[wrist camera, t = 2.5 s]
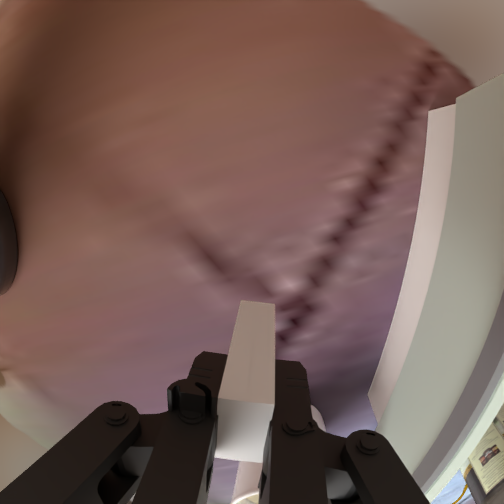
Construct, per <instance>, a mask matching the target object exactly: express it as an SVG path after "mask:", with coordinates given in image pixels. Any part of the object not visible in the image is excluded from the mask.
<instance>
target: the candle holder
mask: <svg viewBox="0 0 504 504" xmlns="http://www.w3.org/2000/svg"><path fill="white" fill-rule="evenodd" d="M311 411H312V417H313V419H314V420H315V421H316V422H317V424H318V426H319V428H320V429H322V430H323V431H325V432H326V428H325V424H324V421H323V418H322V415H321V414H320V412H319V411H318V410H317V409H316V408H315V407H314V406H313V405H311ZM262 466H263V461H262V463H256V462H246V461H239V465H238V471H237V476H236V481H235V486H234V491H233V496H232V500H231V504H258V501H259V488H258V483H259V479H260V475H261V471H262Z"/></svg>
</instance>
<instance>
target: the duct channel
mask: <svg viewBox="0 0 504 504" xmlns="http://www.w3.org/2000/svg"><path fill="white" fill-rule="evenodd" d="M455 114H456V104H453V105H449V106H445V107H442V108H438V109H434V110H431V111H428V126H427V139H426V150H425V159H424V168H423V176H422V184H421V191H420V198H419V204H418V210H417V216H416V222H415V227H414V232H413V238H412V243H411V248H410V252H409V257H408V261H407V266H406V270H405V274H404V279H403V283H402V287H401V291H400V294H399V298H398V302H397V306H396V309H395V313H394V316H393V320H392V323H391V327H390V330H389V333H388V336H387V340H386V343H385V346H384V349H383V352H382V355H381V358H380V361H379V364H378V367H377V370H376V372H375V375H374V378H373V381H372V383H371V386H370V389H369V391H368V394H367V395H368V398H369V401H370V403H371V406H372V409H373V412H374V414H375V417H376V420H377V423H379V421H380V419H381V417H382V415H383V413H384V410H385V408H386V406H387V404H388V401H389V399H390V397H391V394H392V392H393V390H394V387H395V385H396V382H397V380H398V377H399V375H400V372H401V370H402V367H403V364H404V362H405V359H406V356H407V354H408V351H409V348H410V345H411V342H412V339H413V336H414V333H415V330H416V327H417V324H418V321H419V318H420V315H421V311H422V308H423V305H424V301H425V298H426V294H427V291H428V287H429V283H430V279H431V275H432V272H433V267H434V263H435V259H436V255H437V250H438V246H439V241H440V236H441V231H442V226H443V220H444V215H445V209H446V203H447V197H448V190H449V182H450V175H451V166H452V157H453V146H454V132H455Z"/></svg>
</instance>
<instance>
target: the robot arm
mask: <svg viewBox="0 0 504 504" xmlns="http://www.w3.org/2000/svg"><path fill="white" fill-rule="evenodd" d="M16 267H17V239H16V232H15V227H14V222H13V218H12V215H11V212H10V209H9V206H8V204H7V202H6V199H5V197H4V195H3V194H2V192H1V190H0V296H1V295H2V294H4V293H5V292H6V291H7V290H8V289H9V287H10V286H11V284H12V282H13V279H14V276H15V272H16ZM167 398H168V411H167V412H163V413H160V414H139V413H138V411H137V410H136V408H135V407H133V406H132V405H130V404H128V403H125V402H122V401H111V402H107V403H104V404H102V405H101V406H99V407H97V408H96V409H95V410H94V411H93V412H92V413H91V414H90V415H88V416H87V417H86V418H85V419H84V420H83V421H82V422H80V423H79V424H78V425H77V426H76V427H75V428H74V429H73V430H71V431H70V432H69V433H68V434H67V435H66V436H65V437H63V438H62V439H61V440H60V441H59V442H58V443H57V444H55V445H54V446H53V447H52V448H51V449H50V450H49V451H47V453H45V454H44V455H43V456H42V457H40V458H39V459H38V460H37V461H36V462H35V463H34V464H32V465H31V466H30V467H29V468H28V469H27V470H25V471H24V472H23V473H22V474H21V475H20V476H19V477H17V478H16V479H15V480H14V481H13V482H12V483H10V484H9V485H8V486H7V487H6V488H5V489H3V490H2V491H1V492H0V504H127V502H128V501H129V500H130V499H131V497H132V496H133V495H134V494H135V492H136V494H135V496H134V499H133V502H132V504H206V503H207V498H208V493H209V488H210V483H211V478H212V473H213V461H214V456H215V457H216V458H222V459H230V460H237V461H246V462H256V463H262V461H263V466H262V471H261V475H260V479H259V483H258V488H259V501H258V504H430V502H429V501H428V499H427V498H426V496H425V495H424V493H423V492H422V490H421V489H420V487H419V486H418V484H417V483H416V481H415V480H414V478H413V477H412V475H411V474H410V472H409V471H408V469H407V468H406V466H405V465H404V463H403V462H402V461H401V459H400V458H399V456H398V455H397V453H396V452H395V450H394V449H393V447H392V446H391V444H390V443H389V441H388V440H387V439H386V438H385V437H384V436H383V435H381V434H379V433H377V432H376V431H371V430H358V431H355V432H353V433H351V434H350V435H349V436H348V437H347V438H344V437H340V436H336V435H332V434H330V433H327V432H325V431H323V430H322V429H320V428H319V426H318V424H317V422H316V421H315V420H314V419H313V417H312V411H311V403H310V395H309V389H308V381H307V372H306V369H305V368H304V367H303V365H302V364H301V363H300V362H298V361H286V360H276V359H275V304H270V303H262V302H253V301H245V300H241V302H240V307H239V311H238V315H237V319H236V324H235V328H234V332H233V336H232V340H231V345H230V349H229V353H228V355H226V354H219V353H212V352H205V351H203V352H202V353H201V354H199V355H198V356H197V357H196V358H195V359H194V362H193V364H192V368H191V370H190V372H189V376H188V377H187V379H182V380H178V381H176V382H174V383H172V384H171V385H170V386H169V387H168V389H167Z"/></svg>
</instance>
